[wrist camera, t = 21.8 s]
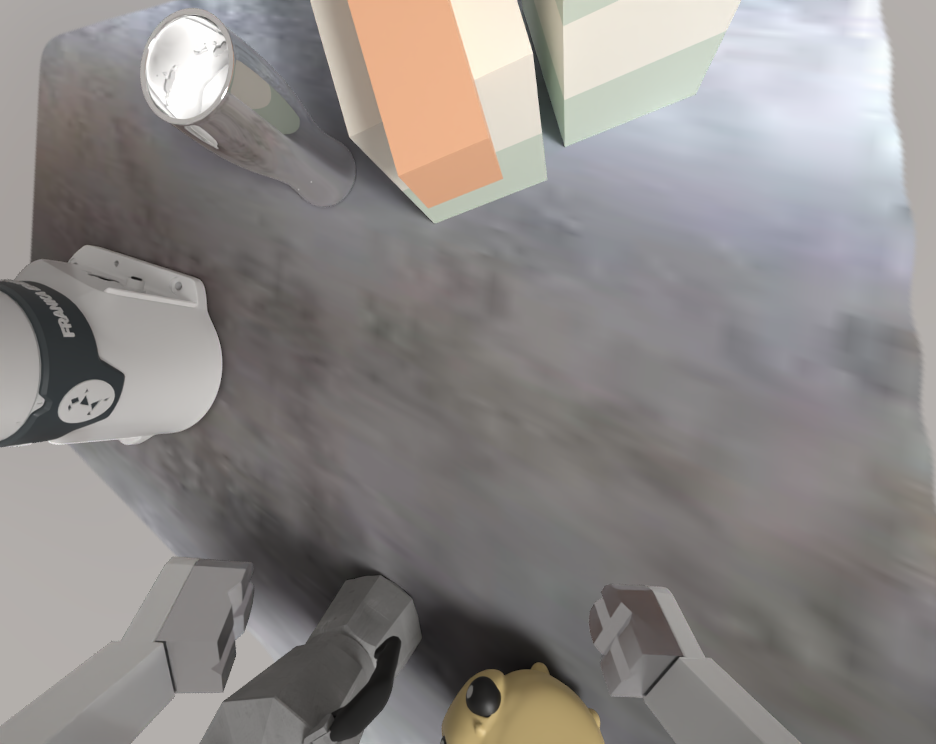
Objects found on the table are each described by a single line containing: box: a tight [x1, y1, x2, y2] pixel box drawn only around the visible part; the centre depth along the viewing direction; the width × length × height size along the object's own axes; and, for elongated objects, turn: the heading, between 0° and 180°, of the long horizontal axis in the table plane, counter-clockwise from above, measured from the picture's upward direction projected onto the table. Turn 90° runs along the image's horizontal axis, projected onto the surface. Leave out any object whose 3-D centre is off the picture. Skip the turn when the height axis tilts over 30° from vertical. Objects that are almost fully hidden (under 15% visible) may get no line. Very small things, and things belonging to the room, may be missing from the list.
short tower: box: [310, 0, 547, 224], centre depth 29 cm, size 10×10×15 cm
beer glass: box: [140, 8, 356, 207], centre depth 32 cm, size 7×7×15 cm
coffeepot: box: [200, 575, 422, 744], centre depth 31 cm, size 15×9×18 cm, turn 127°
